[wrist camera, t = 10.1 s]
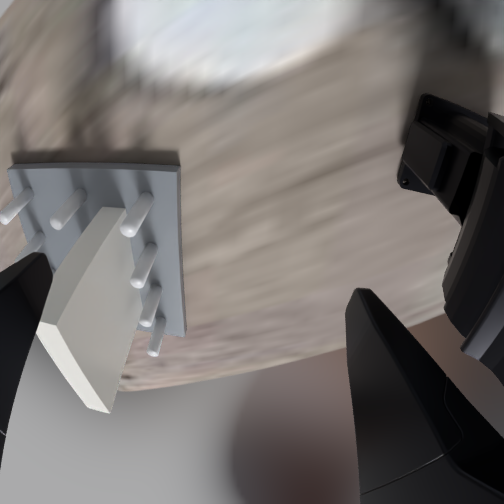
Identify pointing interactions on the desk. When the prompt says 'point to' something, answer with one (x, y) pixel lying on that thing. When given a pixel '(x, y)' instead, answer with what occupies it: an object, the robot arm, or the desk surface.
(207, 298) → the desk surface
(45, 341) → the white rectangular slab
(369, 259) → the desk surface
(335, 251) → the desk surface
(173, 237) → the dish rack
